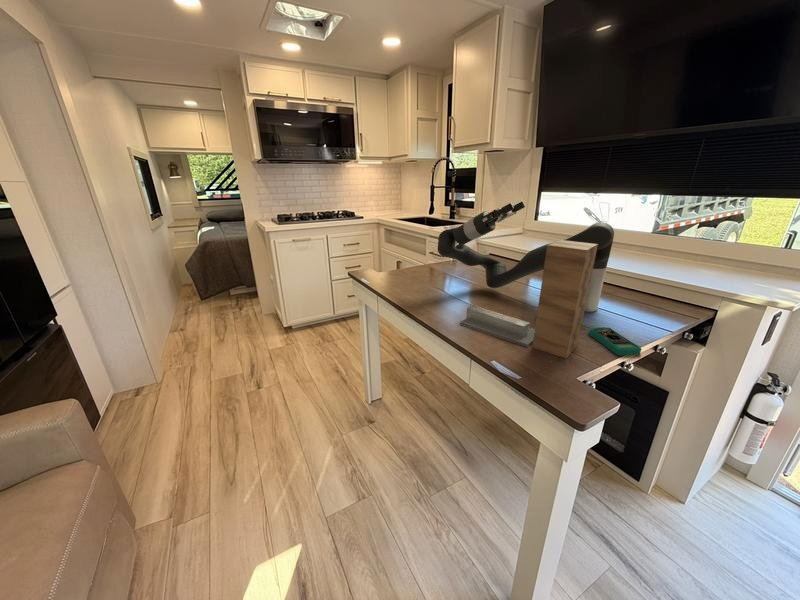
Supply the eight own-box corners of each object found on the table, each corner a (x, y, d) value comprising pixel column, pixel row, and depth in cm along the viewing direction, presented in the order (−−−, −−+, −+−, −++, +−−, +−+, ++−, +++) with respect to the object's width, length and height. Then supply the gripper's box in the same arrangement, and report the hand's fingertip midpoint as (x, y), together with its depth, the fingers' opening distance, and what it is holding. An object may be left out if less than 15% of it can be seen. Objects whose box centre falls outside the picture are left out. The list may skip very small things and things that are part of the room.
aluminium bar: (472, 315, 122) (473, 305, 121) (528, 333, 107) (529, 322, 106) (466, 318, 120) (466, 308, 118) (522, 337, 105) (523, 326, 103)
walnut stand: (544, 336, 108) (560, 239, 96) (577, 346, 101) (597, 244, 90) (532, 347, 101) (547, 245, 90) (566, 358, 94) (587, 250, 83)
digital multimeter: (607, 333, 110) (609, 325, 109) (641, 356, 96) (643, 347, 95) (586, 334, 109) (588, 326, 108) (617, 357, 95) (619, 348, 94)
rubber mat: (477, 314, 125) (477, 312, 125) (542, 334, 109) (543, 331, 109) (460, 324, 117) (460, 321, 117) (527, 347, 101) (528, 344, 101)
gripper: (492, 232, 124) (531, 213, 112) (472, 238, 114) (512, 217, 102) (485, 214, 124) (523, 193, 112) (464, 218, 114) (503, 195, 102)
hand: (518, 204), depth 107 cm, fingers open, 8 cm apart
